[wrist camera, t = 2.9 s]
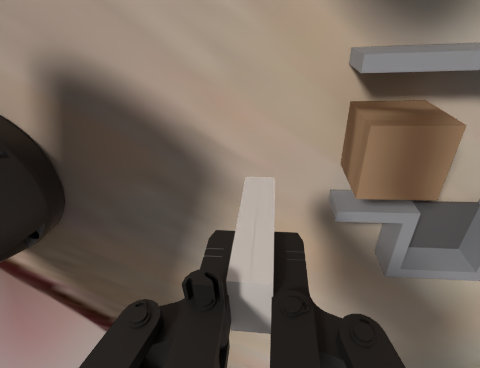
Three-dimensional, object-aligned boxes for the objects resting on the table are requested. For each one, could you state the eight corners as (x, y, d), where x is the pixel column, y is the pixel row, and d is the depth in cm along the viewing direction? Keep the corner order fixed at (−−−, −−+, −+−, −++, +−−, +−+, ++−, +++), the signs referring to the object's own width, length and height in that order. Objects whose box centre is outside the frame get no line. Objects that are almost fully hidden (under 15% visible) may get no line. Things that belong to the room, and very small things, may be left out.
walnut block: (340, 163, 23) (355, 199, 19) (350, 101, 20) (370, 126, 16) (405, 163, 22) (437, 200, 18) (425, 99, 20) (466, 125, 15)
